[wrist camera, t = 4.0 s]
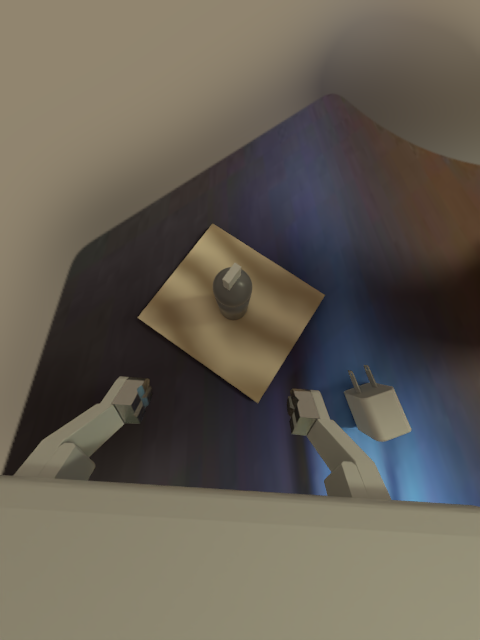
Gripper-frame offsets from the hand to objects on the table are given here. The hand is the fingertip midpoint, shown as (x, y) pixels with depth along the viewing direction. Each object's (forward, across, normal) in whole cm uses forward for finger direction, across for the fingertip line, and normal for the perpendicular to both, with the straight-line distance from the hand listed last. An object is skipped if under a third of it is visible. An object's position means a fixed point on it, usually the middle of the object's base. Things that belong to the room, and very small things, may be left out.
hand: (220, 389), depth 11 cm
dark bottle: (+14, 0, +3) cm, 14 cm away
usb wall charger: (+8, -16, +11) cm, 21 cm away
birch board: (+15, 0, +4) cm, 15 cm away
